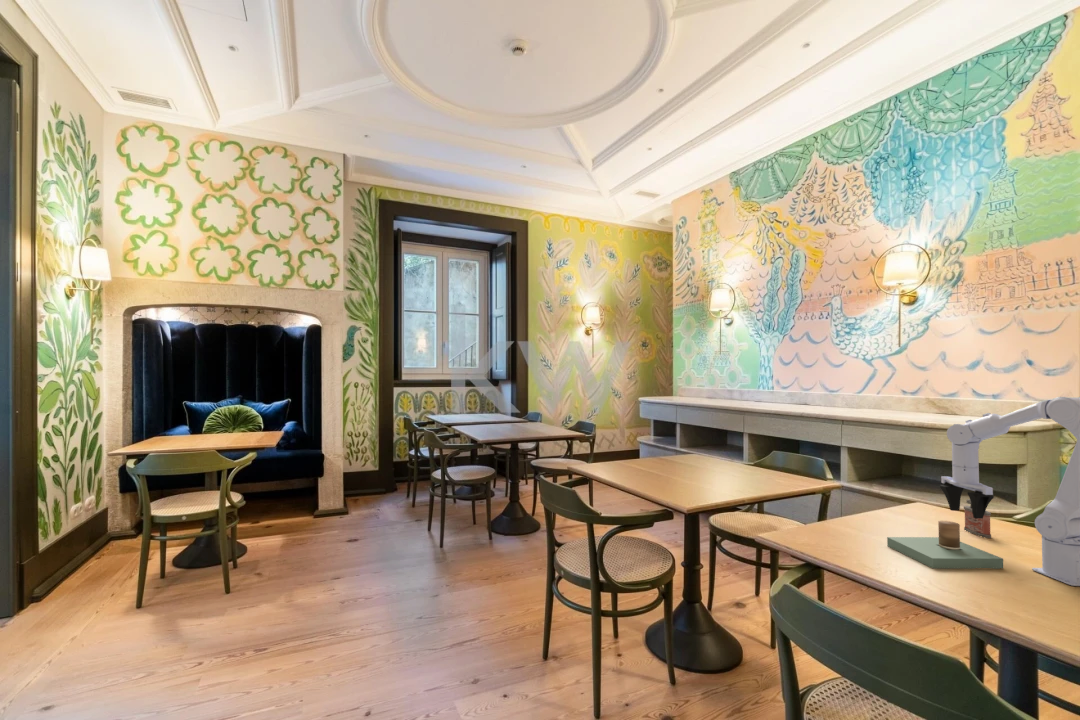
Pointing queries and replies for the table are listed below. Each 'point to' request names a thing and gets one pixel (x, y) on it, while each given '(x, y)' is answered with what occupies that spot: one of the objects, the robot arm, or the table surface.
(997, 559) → the board
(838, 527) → the table surface
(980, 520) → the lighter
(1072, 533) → the robot arm
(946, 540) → the peg
